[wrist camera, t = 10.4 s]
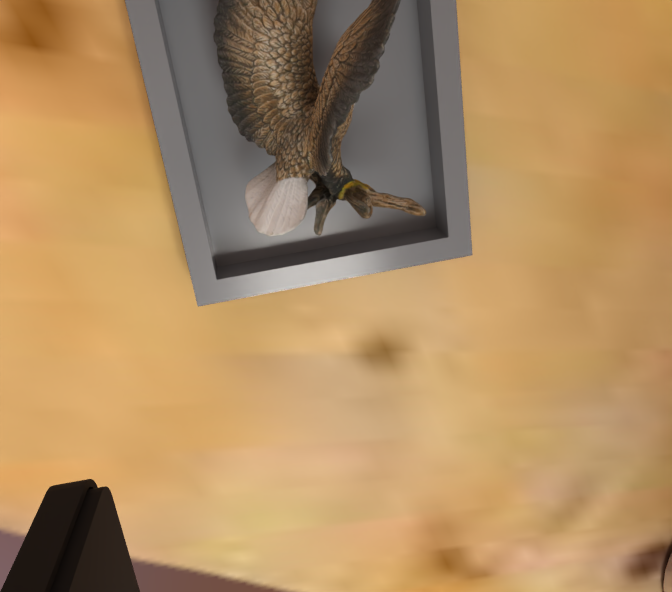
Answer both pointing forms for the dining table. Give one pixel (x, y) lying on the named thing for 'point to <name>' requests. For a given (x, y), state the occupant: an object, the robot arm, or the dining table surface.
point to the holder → (342, 220)
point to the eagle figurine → (300, 106)
